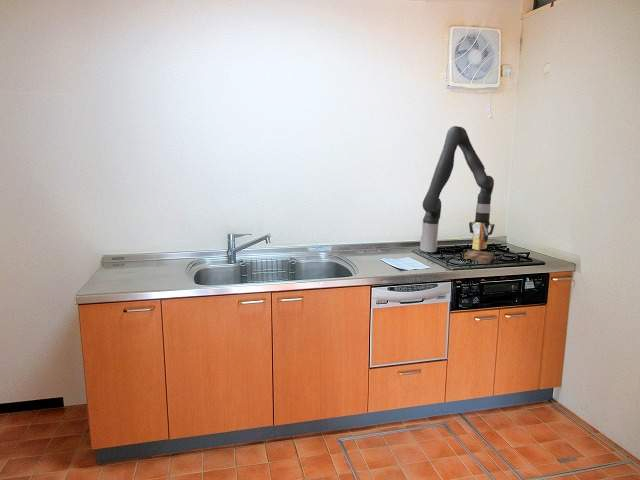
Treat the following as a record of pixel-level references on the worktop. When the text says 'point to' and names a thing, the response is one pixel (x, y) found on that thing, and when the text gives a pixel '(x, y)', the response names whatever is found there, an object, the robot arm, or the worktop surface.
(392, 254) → the worktop surface
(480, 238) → the candy box
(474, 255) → the walnut base
